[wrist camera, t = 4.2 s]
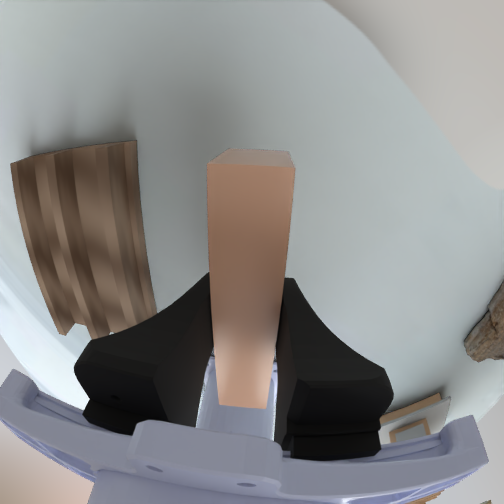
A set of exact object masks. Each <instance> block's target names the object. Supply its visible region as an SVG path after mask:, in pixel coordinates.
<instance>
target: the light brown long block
mask: <svg viewBox="0 0 504 504" xmlns="http://www.w3.org/2000/svg"><path fill="white" fill-rule="evenodd" d="M294 178H295V166H294V164H293V161H292V159H291V156H290V154H289V152H287V151H274V150H257V149H231V148H229V149H227V150H226V151H224V152H223V153H222V154H220V155H219V156H217V157H216V158H214V159H213V160H211V161H210V162H209V163H207V210H208V248H209V273H210V294H211V311H212V327H213V341H214V354H215V367H216V378H217V389H218V399H219V405H226V406H235V407H246V408H258V409H266V406H267V400H268V394H269V387H270V381H271V374H272V368H273V361H274V354H275V347H276V340H277V333H278V325H279V318H280V310H281V302H282V294H283V286H284V277H285V269H286V260H287V251H288V241H289V232H290V222H291V211H292V201H293V189H294Z"/></svg>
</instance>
